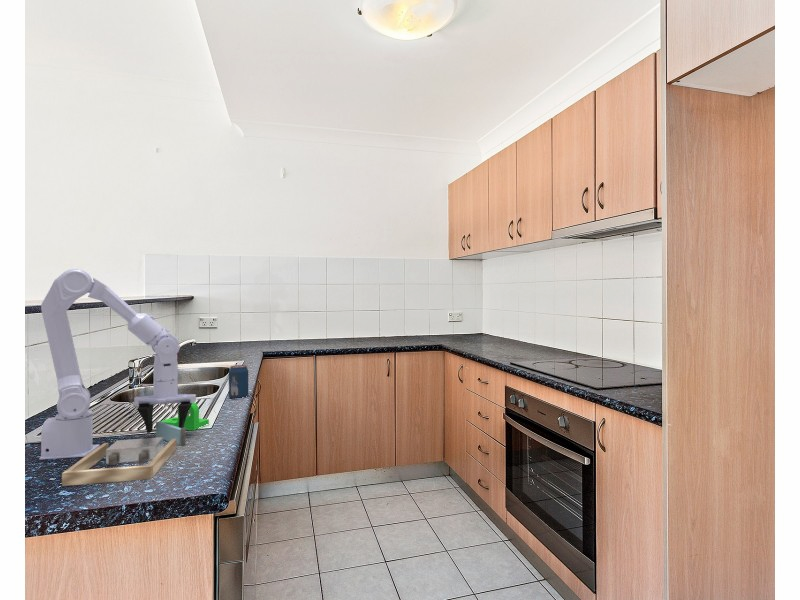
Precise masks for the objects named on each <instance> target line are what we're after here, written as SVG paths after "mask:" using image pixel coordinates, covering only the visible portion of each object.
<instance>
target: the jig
mask: <svg viewBox="0 0 800 600" xmlns="http://www.w3.org/2000/svg"><path fill="white" fill-rule="evenodd" d="M186 431H187V430H186V428H185V427H183V428H181V445H180V446H181V447H184V446H186V442H187V441H186V439H187V437H186ZM109 447H110V446H109V442H103V443H102V444H100V446H99V447H98V448H96V449H95V450H94V451H92V452H91V453H89V454H88V455H87V456H84V457H82V458H81V459H80V460H79V461H77V462H76V463H75V464H73V465H72V466H70V467H69V468H67V469H66V470H65V471H63V472H62V473H61V486H62V487H66V486H77V485H78V486H80V485H91V484H104V483H106V484H107V483H117V482H118V483H119V482H128V481H139V480H140V481H141V480H150V479H153V478H154V476H156V474H157V473H158V472H159V470H160V469H161V468H162V467H163V465H164V464H165V463H166V462H167V461H168V460H169V458H170V457H171V456H172V455H173V454H174V452H176V450H177V449H178V445H177V439H172V440H171V441H170V442H169V441H168V443H167V444H166V445H165V446H163V449H162V451H161V452H160V453H159V454H158V455H157V456H156V457H155V458H154V459H153V460H150V462H149V463H148V464H146V465H142V464H145V463H147V462H148V460H147V452H142V453H139V461H138V464H141V465H133V466H120V467H112V466H116V465H118V463H117V454H112V455H109V464H108V466H109V467H108V468H107V467H106V468H104V467H103V468H94V469H92V467H93V466H95V464H97V463H98V462H100V461H101V460H102V459H103V458H104V457H105V458H106V449H108V448H109Z"/></svg>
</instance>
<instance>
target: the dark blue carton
mask: <svg viewBox="0 0 800 600" xmlns="http://www.w3.org/2000/svg"><path fill="white" fill-rule="evenodd" d="M228 396H229V397H228V398H230V397H231V398H242V397H246V396H247V397H248V396H249V369H248V366H247V365H245V364H239V365H238V364H236V365H230V369H229V370H228ZM247 397H246V398H247Z"/></svg>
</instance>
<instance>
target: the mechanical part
mask: <svg viewBox="0 0 800 600" xmlns="http://www.w3.org/2000/svg"><path fill="white" fill-rule="evenodd" d="M188 412H189V414H187V416H186V420H185V423H184V427H185V428H186V431H193V430H194V431H196V429H197V430H199V429H200V428H199V427H201V426H204V425H206V424H209V425H210V419H209V418H200V409H199V405H198V404H197V403H196V402H194V403H192V405H191V407H190V409H189V411H188ZM161 422H164V423H167V424H170V425H173V426H176V427H179V411H178V410H177V417H171V418H170V417H169V418H167V419H163V420H161ZM204 427H205V426H204ZM198 428H199V429H198Z"/></svg>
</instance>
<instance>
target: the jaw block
mask: <svg viewBox="0 0 800 600" xmlns="http://www.w3.org/2000/svg"><path fill="white" fill-rule="evenodd" d="M163 448H164V440H163V437H147V438H135V439H121V440H119V439H117V440H116V441H114V443H112V444H111V445H110V446H109V448H108V449H106V456H105V464H106V465H109V455H112V454H117V464H121V463H122V464H123V463H132V462H133V463H134V462H139V453H142V452H147V461H152V460H153V459H154V458H155V457H156V456H157V455H158V454H159V453H160V452H161V451H162V449H163Z"/></svg>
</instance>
